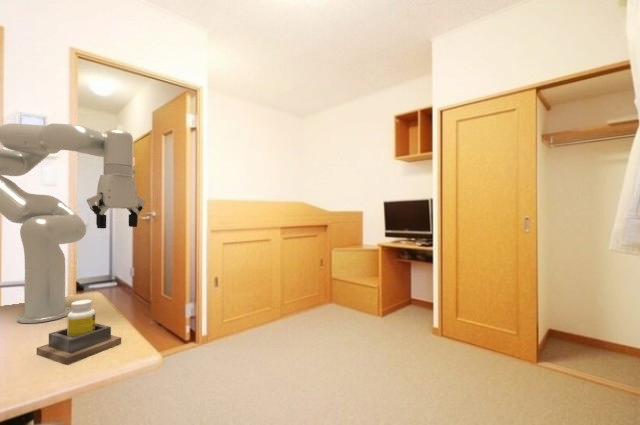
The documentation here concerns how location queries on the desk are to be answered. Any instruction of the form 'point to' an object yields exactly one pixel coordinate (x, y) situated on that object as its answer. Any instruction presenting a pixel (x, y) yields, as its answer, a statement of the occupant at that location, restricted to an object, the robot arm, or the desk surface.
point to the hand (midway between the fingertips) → (117, 227)
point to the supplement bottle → (81, 319)
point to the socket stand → (78, 344)
